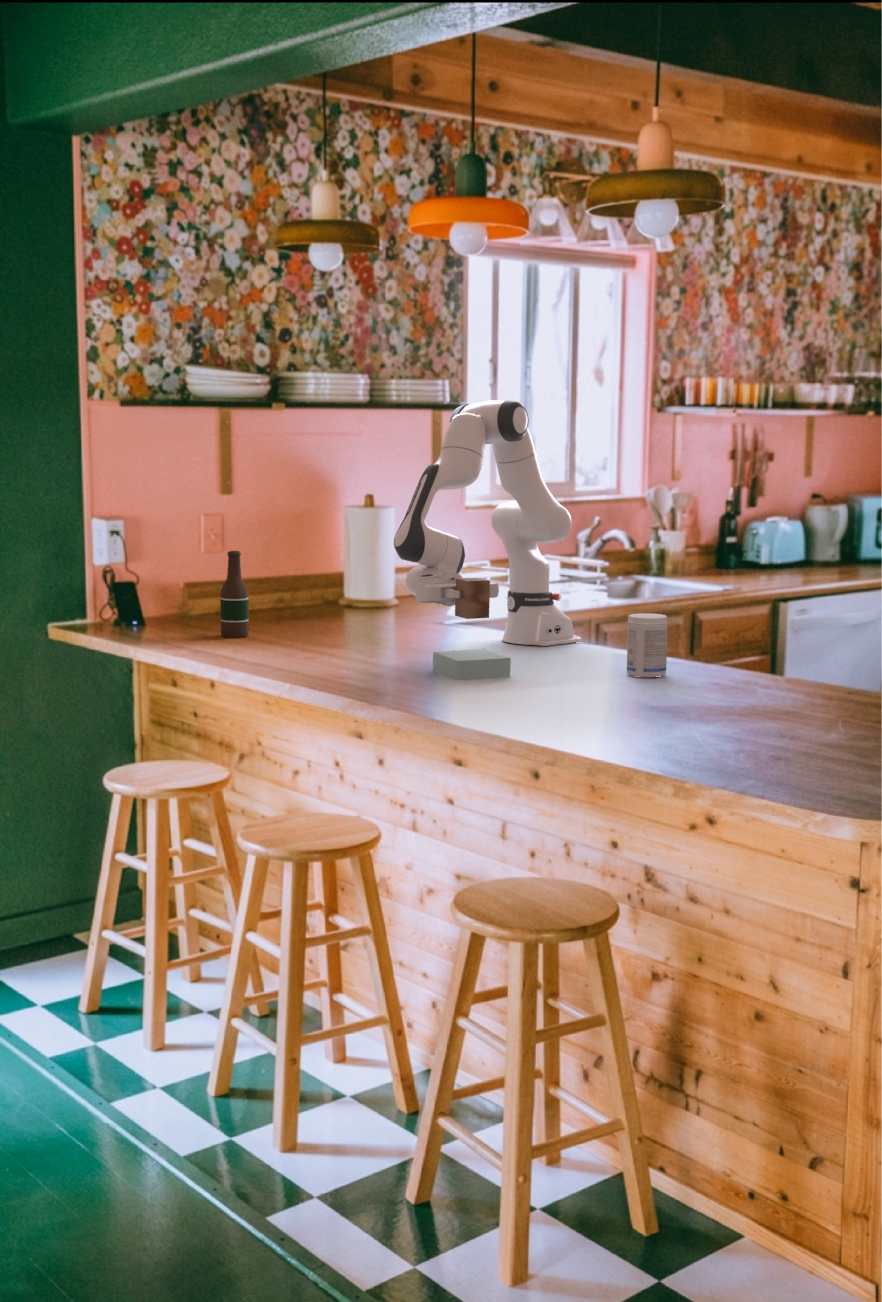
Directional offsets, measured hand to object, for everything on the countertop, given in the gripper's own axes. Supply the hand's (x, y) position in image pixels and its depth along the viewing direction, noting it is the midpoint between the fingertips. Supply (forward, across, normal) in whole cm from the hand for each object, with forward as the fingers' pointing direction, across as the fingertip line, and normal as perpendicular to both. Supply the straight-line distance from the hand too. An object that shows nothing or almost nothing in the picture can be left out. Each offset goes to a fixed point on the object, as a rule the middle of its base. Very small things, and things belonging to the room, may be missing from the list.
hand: (474, 594), depth 317 cm
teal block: (-1, 0, -20) cm, 20 cm away
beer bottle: (-79, +32, -20) cm, 87 cm away
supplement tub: (+18, -38, -20) cm, 47 cm away
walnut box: (-1, 0, -6) cm, 6 cm away
